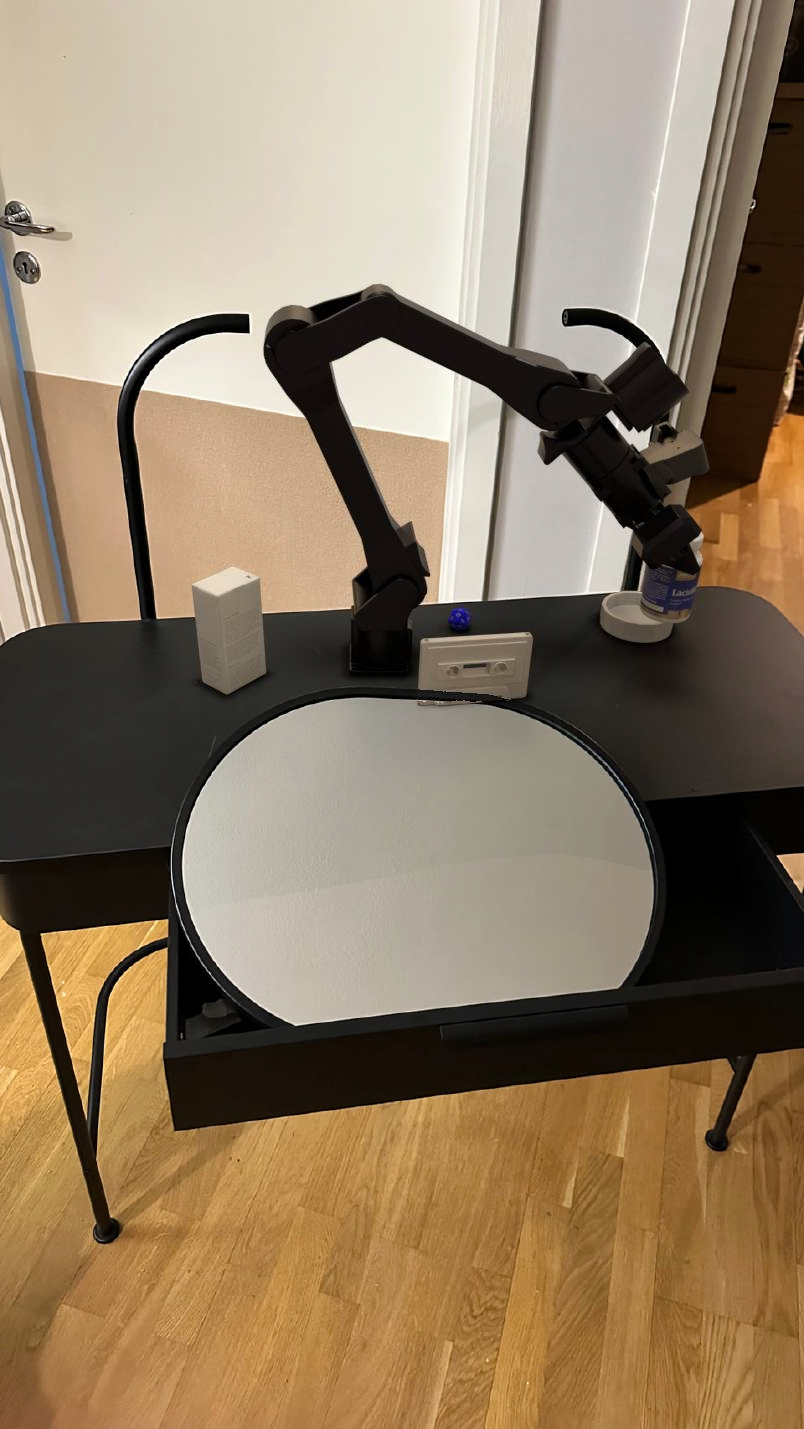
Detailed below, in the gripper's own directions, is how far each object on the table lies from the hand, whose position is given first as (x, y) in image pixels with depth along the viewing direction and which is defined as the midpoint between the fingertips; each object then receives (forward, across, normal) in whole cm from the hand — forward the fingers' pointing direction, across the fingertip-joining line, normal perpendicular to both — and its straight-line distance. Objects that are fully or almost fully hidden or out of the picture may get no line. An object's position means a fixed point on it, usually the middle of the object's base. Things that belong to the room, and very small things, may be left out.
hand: (687, 560), depth 108 cm
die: (-8, +8, +26) cm, 28 cm away
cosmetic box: (-26, -3, +45) cm, 52 cm away
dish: (+8, +8, +10) cm, 14 cm away
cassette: (-8, -8, +26) cm, 29 cm away
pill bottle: (+4, 0, +6) cm, 7 cm away
